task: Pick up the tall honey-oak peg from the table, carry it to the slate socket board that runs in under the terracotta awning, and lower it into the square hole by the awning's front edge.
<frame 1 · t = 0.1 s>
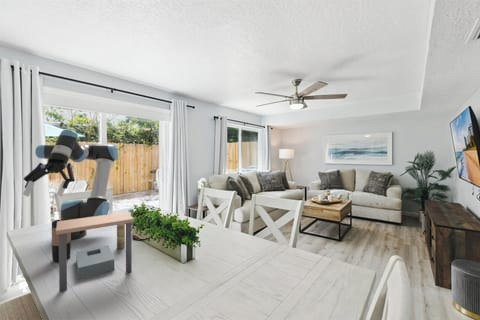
hand: (42, 195, 101), 36 cm above the table, tool tilted 35°, fingers open, 13 cm apart
travel mug: (61, 259, 115), on the table
socket board: (94, 265, 110), on the table
oak peg: (120, 247, 130), on the table
awning: (96, 274, 102), on the table
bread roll: (141, 238, 147), on the table
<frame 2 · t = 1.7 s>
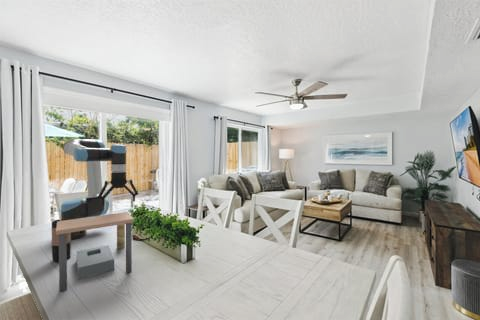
hand: (119, 208, 128), 23 cm above the table, tool pointing down, fingers open, 13 cm apart
nothing on the table moved.
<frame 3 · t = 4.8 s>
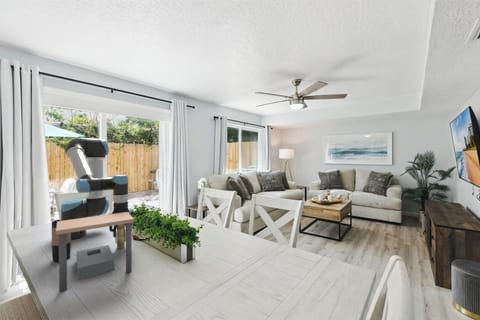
hand: (120, 241, 130), 4 cm above the table, tool pointing down, fingers closed on oak peg, 4 cm apart
oak peg: (120, 247, 130), on the table, touching gripper
everything else where it was.
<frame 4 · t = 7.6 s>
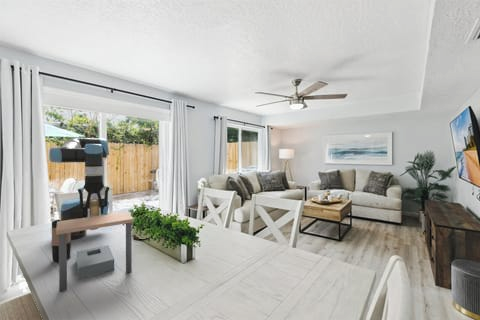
hand: (94, 221, 113), 21 cm above the table, tool pointing down, fingers closed on oak peg, 4 cm apart
oak peg: (94, 228, 113), point 17 cm above the table, touching gripper
everything else where it was.
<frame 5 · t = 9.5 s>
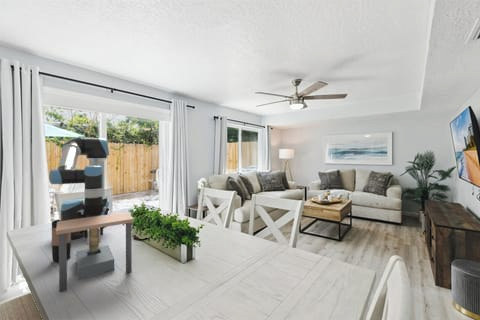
hand: (93, 242, 113), 10 cm above the table, tool pointing down, fingers closed on oak peg, 4 cm apart
oak peg: (94, 250, 113), point 6 cm above the table, touching gripper
everything else where it was.
when the fingers open (7 cm above the table, at t = 10.8 s): oak peg drops 3 cm, resting in socket board.
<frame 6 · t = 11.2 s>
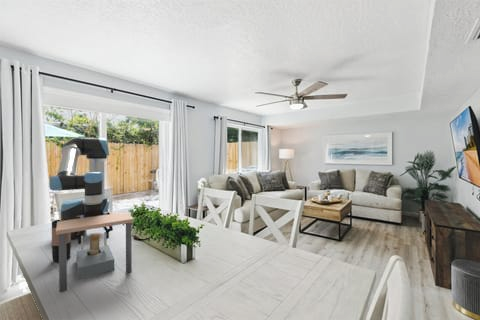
hand: (93, 247, 113), 8 cm above the table, tool pointing down, fingers open, 9 cm apart
oak peg: (93, 262, 113), resting in socket board
everything else where it was.
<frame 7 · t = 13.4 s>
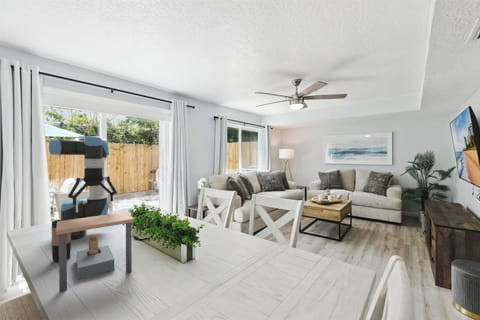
hand: (93, 209, 112), 27 cm above the table, tool pointing down, fingers open, 13 cm apart
nothing on the table moved.
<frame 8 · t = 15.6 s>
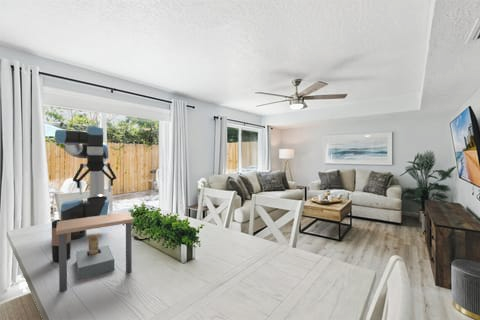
hand: (95, 193, 124), 33 cm above the table, tool pointing down, fingers open, 13 cm apart
nothing on the table moved.
at the end: oak peg 0.2 cm from the target spot on the socket board, point 0.0 cm above the socket board's base; oak peg tilted 0°; the gripper is holding nothing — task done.
